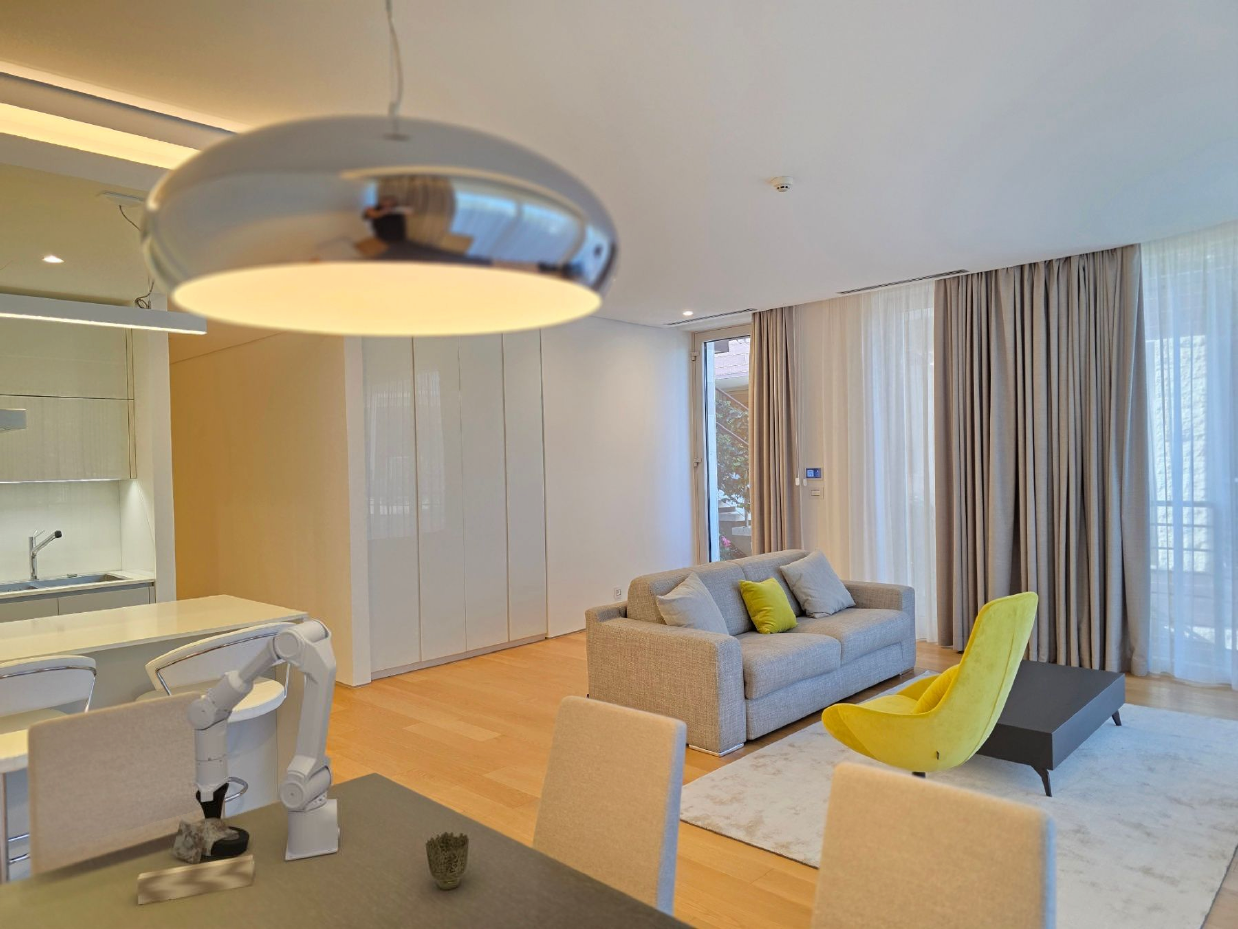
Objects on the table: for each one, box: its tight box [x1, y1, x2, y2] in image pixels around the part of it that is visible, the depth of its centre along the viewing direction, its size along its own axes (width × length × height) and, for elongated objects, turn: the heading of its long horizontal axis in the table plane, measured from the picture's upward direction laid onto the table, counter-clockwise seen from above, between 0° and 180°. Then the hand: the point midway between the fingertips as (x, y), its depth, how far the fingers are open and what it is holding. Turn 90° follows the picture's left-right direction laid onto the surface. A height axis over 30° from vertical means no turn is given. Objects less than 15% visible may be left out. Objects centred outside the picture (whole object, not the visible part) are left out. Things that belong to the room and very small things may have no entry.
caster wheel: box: [171, 818, 251, 865], centre depth 160 cm, size 7×11×10 cm
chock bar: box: [137, 854, 256, 906], centre depth 146 cm, size 18×5×4 cm, turn 109°
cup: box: [425, 831, 470, 891], centre depth 144 cm, size 8×7×8 cm
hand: (213, 824), depth 164 cm, fingers closed
